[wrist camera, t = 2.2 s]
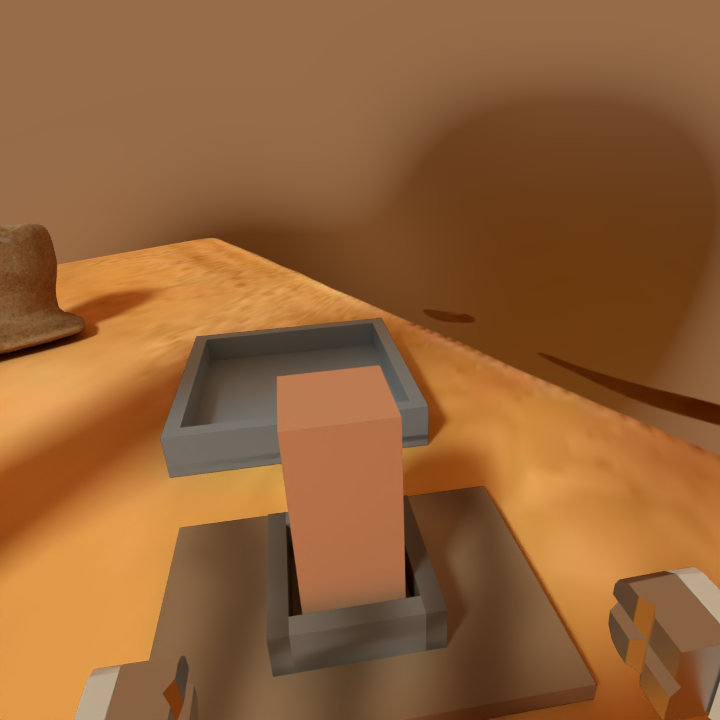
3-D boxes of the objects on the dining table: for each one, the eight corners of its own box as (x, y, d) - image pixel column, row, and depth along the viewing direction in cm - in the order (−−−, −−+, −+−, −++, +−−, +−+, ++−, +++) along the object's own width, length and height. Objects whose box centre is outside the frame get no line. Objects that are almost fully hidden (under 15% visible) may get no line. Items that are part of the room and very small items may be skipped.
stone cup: (75, 317, 76) (44, 208, 70) (95, 341, 67) (60, 219, 61) (-54, 346, 68) (-102, 227, 62) (-51, 378, 59) (-107, 242, 53)
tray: (169, 477, 40) (160, 438, 39) (202, 366, 58) (196, 336, 57) (428, 444, 43) (428, 406, 41) (382, 347, 61) (381, 317, 59)
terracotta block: (305, 640, 26) (277, 431, 21) (301, 563, 31) (276, 376, 26) (406, 624, 27) (401, 417, 22) (387, 551, 31) (379, 365, 26)
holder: (129, 785, 22) (107, 732, 20) (182, 539, 34) (171, 496, 33) (593, 698, 24) (604, 645, 22) (483, 497, 37) (485, 454, 35)
